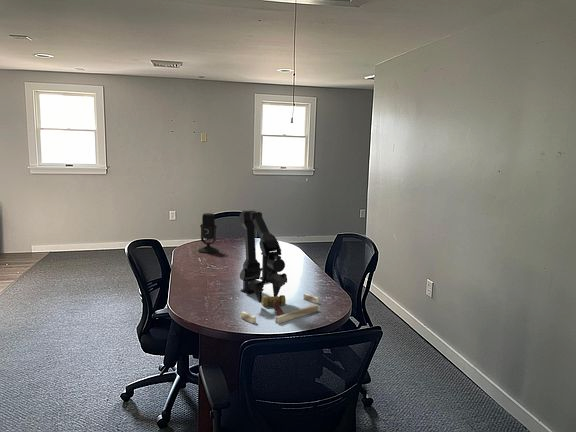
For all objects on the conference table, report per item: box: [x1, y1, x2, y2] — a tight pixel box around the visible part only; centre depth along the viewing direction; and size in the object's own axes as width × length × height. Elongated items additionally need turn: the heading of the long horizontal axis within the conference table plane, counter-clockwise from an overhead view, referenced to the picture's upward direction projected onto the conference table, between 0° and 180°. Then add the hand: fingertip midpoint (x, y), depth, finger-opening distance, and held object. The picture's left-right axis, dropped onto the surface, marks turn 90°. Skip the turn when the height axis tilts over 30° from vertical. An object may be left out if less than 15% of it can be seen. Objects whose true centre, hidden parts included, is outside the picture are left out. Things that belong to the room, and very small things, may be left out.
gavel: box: [261, 294, 287, 316], centre depth 198 cm, size 21×5×10 cm
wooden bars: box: [240, 293, 320, 325], centre depth 198 cm, size 14×39×2 cm, turn 134°
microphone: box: [197, 212, 219, 254], centre depth 306 cm, size 14×14×25 cm
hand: (267, 300), depth 206 cm, fingers open, 9 cm apart
